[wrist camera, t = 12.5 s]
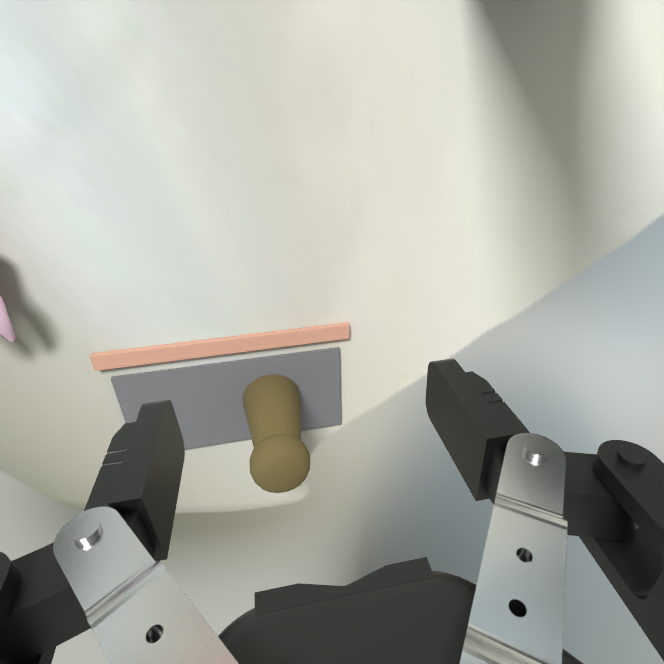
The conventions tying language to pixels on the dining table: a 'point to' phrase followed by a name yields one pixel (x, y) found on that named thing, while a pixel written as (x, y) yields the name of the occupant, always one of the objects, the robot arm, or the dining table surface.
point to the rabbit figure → (5, 323)
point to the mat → (234, 393)
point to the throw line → (218, 346)
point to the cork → (275, 433)
